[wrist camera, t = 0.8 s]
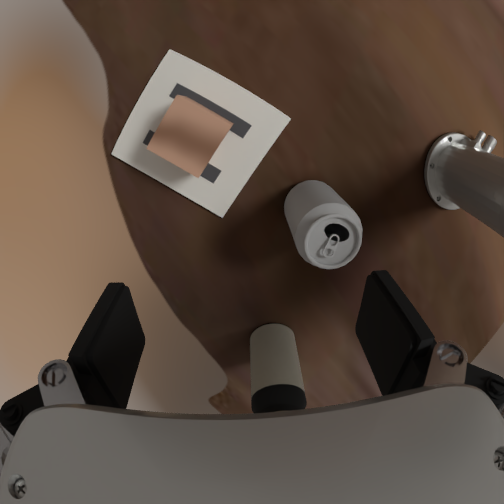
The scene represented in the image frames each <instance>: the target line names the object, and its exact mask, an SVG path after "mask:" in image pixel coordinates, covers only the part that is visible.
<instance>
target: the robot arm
mask: <svg viewBox="0 0 504 504" xmlns="http://www.w3.org/2000/svg"><path fill="white" fill-rule="evenodd" d="M485 137H486V134H485V133H484V132H483V131H481V130H480V131H479V132H478V134H477V136H476V138H475V140H472V141H471V139H470V138H468V137H467V136H465V135H463V134H460V133H455V132H453V133H447V134H444V135H442V136H441V137H439V138H438V139H437V140H436V141H435V142H434V144H433V145H432V147H431V148H430V150H429V153H428V155H427V158H426V162H425V169H424V178H425V185H426V188H427V191H428V193H429V195H430V197H431V198H432V200H433V201H434V202H435V203H436V204H438V205H439V206H441V207H442V208H445V209H448V210H454V209H459V208H462V209H463V210H465V211H466V212H468V213H469V214H471V215H472V216H474V217H475V218H477V219H478V220H480V221H481V222H483V223H484V224H486V225H487V226H489V227H490V228H491V229H493V230H494V231H496V232H497V233H498V234H500V235H501V236H502V237H504V158H502V157H499V156H496V155H494V154H491V151H493V149H494V147H495V145H496V144H497V141H496V140H495V138H494V137H492V136H490V135H488V137H487V139H486V140H485V142H484V145H483V146H482V148H481V146H480V145H481V143H482V142H483V140H484V139H485ZM356 334H357V337H358V339H359V341H360V344H361V346H362V348H363V350H364V353H365V355H366V357H367V360H368V362H369V364H370V367H371V369H372V372H373V374H374V376H375V379H376V381H377V384H378V386H379V389H380V391H381V394H382V395H383V396H380V397H375V398H370V399H365V400H360V401H355V402H350V403H344V404H338V405H332V406H325V407H318V408H310V409H301V410H292V411H282V412H269V413H252V414H180V413H178V414H177V413H163V412H150V411H140V410H130V409H126V407H127V404H128V400H129V396H130V393H131V389H132V386H133V382H134V378H135V375H136V372H137V368H138V365H139V362H140V358H141V355H142V352H143V349H144V345H145V336H144V333H143V330H142V327H141V324H140V321H139V318H138V315H137V313H136V309H135V306H134V303H133V299H132V296H131V293H130V290H129V287H127V286H125V285H124V283H109V284H108V285H107V287H106V289H105V290H104V292H103V293H102V295H101V297H100V298H99V300H98V302H97V304H96V305H95V307H94V309H93V310H92V312H91V314H90V316H89V318H88V319H87V321H86V323H85V325H84V326H83V328H82V330H81V332H80V334H79V335H78V337H77V339H76V341H75V343H74V345H73V347H72V349H71V351H70V353H69V357H68V359H67V361H64V360H53V361H50V362H49V363H47V364H45V366H43V368H42V369H41V370H40V372H39V375H38V383H39V384H38V385H36V386H34V387H32V388H30V389H28V390H26V391H25V392H23V393H21V394H19V395H17V396H15V397H13V398H12V399H10V400H8V401H7V402H5V403H4V404H3V406H2V407H1V410H0V504H504V379H503V378H502V377H501V376H499V375H496V374H494V373H492V372H489V371H486V370H484V369H482V368H479V367H477V366H474V365H472V364H469V363H467V354H466V352H465V350H464V349H463V348H462V347H461V346H460V345H459V344H457V343H455V342H453V341H448V340H447V341H441V342H438V343H436V341H435V340H434V338H435V337H434V335H433V334H432V332H431V331H430V329H429V328H428V326H427V325H426V323H425V322H424V320H423V319H422V318H421V316H420V315H419V313H418V312H417V310H416V309H415V308H414V306H413V305H412V303H411V302H410V301H409V299H408V298H407V297H406V295H405V294H404V293H403V291H402V290H401V289H400V287H399V286H398V285H397V283H396V282H395V281H394V279H393V278H392V277H391V275H390V274H389V273H388V272H387V271H386V270H381V271H373V272H372V273H371V275H368V276H367V280H366V284H365V289H364V293H363V298H362V302H361V307H360V311H359V315H358V319H357V323H356Z"/></svg>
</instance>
